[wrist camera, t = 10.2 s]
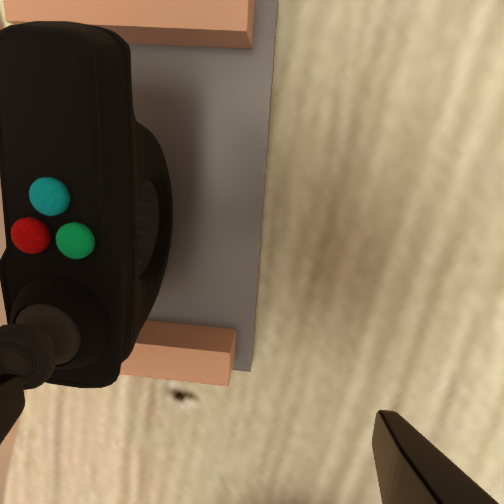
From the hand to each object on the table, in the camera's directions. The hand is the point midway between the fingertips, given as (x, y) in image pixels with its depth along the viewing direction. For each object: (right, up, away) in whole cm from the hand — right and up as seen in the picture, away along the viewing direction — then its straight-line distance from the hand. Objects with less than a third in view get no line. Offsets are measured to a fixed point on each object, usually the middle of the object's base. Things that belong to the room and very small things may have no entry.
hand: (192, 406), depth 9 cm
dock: (-4, +7, +11) cm, 13 cm away
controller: (-4, +7, +10) cm, 13 cm away
